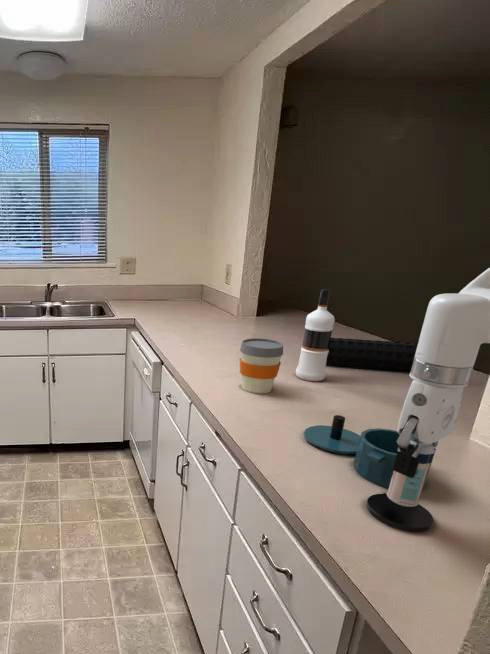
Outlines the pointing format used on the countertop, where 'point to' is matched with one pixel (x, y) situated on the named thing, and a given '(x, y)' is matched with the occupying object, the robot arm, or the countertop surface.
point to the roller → (371, 354)
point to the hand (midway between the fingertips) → (411, 468)
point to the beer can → (411, 480)
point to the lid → (333, 437)
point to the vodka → (316, 342)
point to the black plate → (399, 514)
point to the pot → (377, 455)
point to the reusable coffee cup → (259, 364)
